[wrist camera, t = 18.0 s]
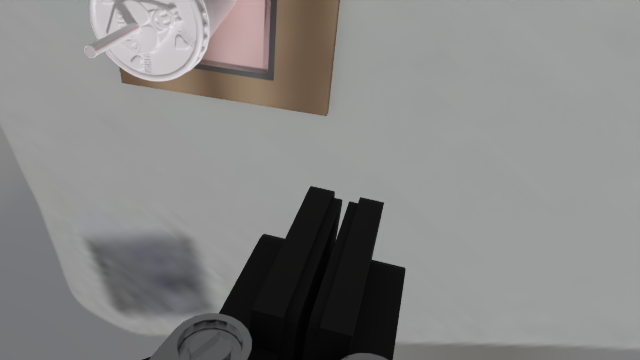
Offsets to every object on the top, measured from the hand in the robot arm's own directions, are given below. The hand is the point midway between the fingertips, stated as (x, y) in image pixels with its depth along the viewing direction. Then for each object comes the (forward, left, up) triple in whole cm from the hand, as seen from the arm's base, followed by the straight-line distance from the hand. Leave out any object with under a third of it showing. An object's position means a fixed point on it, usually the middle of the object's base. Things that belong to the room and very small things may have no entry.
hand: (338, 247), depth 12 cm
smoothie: (+13, +1, -26) cm, 29 cm away
